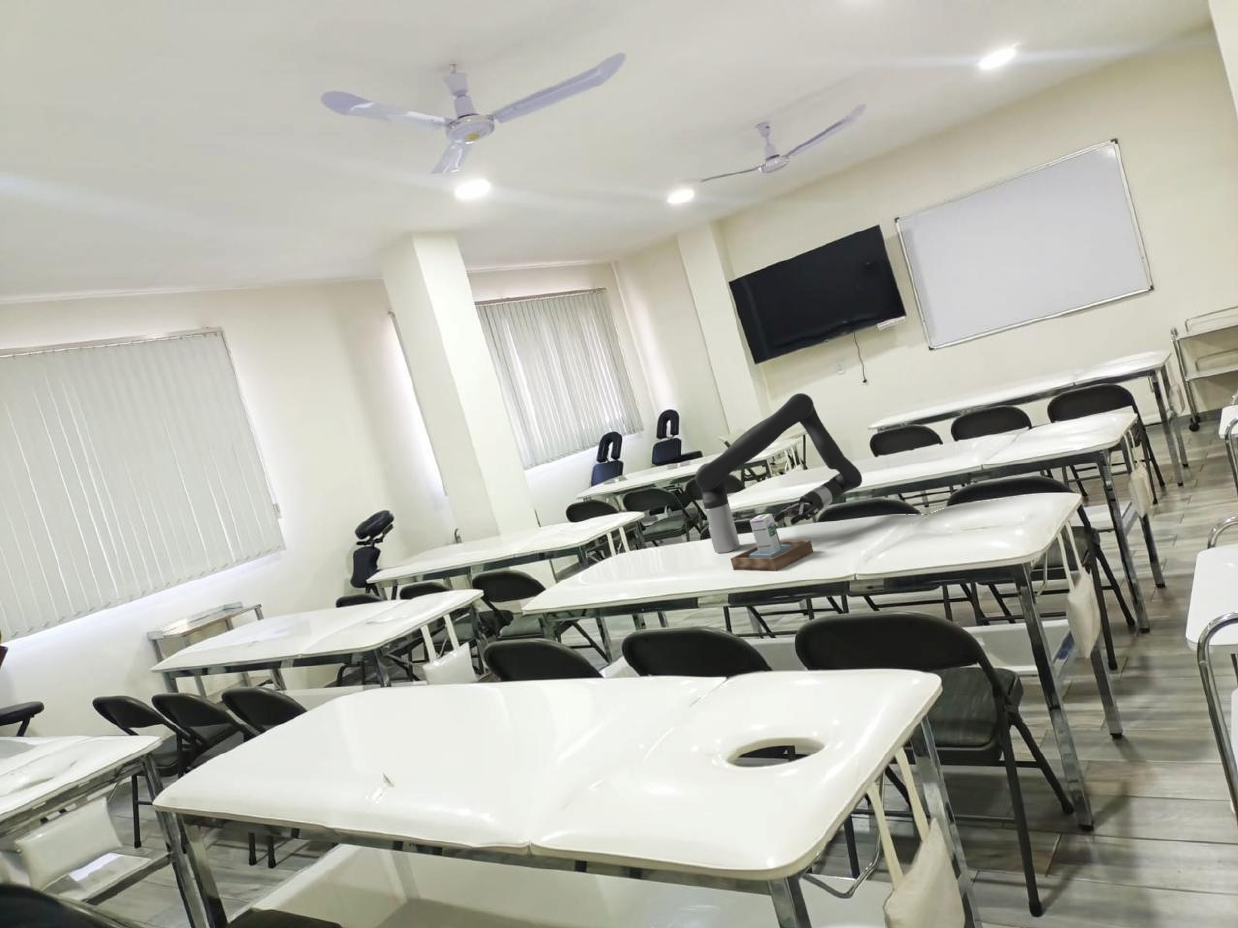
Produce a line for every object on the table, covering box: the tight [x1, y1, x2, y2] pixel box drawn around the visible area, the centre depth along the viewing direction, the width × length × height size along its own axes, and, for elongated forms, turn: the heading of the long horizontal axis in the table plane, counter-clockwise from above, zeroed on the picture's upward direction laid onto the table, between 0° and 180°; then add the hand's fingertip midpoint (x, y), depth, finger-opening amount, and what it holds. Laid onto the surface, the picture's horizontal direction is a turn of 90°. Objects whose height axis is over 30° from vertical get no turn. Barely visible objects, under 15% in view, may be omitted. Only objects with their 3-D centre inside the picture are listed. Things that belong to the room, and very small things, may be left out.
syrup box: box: [749, 513, 782, 554], centre depth 270 cm, size 6×6×14 cm
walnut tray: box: [730, 540, 814, 572], centre depth 270 cm, size 20×18×4 cm
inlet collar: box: [749, 545, 792, 558], centre depth 270 cm, size 10×10×3 cm
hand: (782, 521), depth 277 cm, fingers open, 8 cm apart
